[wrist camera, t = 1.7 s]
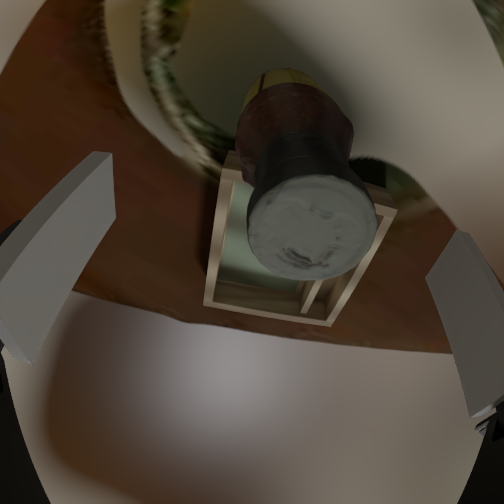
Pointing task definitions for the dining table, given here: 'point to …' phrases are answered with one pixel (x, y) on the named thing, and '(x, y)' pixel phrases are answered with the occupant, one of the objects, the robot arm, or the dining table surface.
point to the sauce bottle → (301, 180)
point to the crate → (263, 280)
